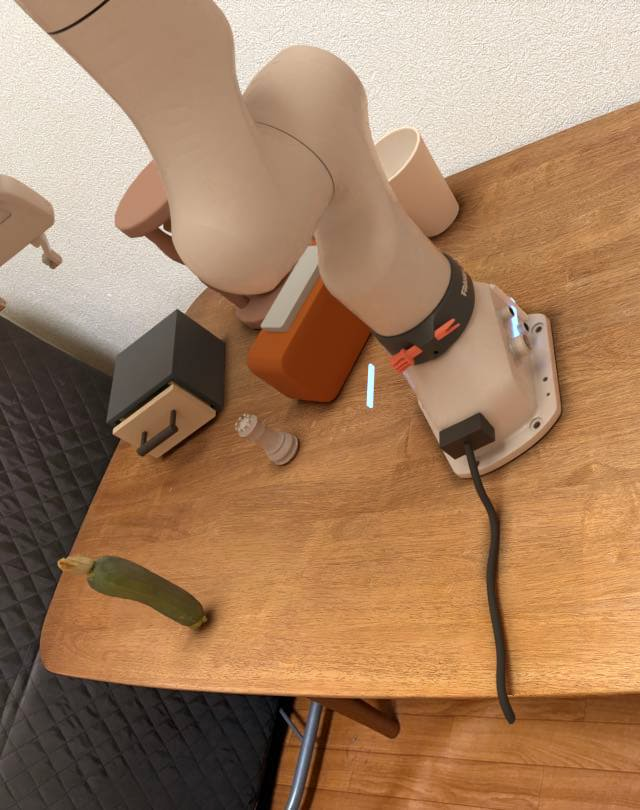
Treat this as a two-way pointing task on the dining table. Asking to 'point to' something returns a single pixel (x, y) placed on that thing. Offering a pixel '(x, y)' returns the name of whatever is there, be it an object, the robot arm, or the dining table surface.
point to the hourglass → (146, 214)
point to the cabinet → (168, 365)
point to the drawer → (164, 419)
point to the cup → (417, 180)
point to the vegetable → (137, 587)
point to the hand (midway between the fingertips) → (30, 285)
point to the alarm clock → (307, 337)
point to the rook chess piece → (268, 439)
